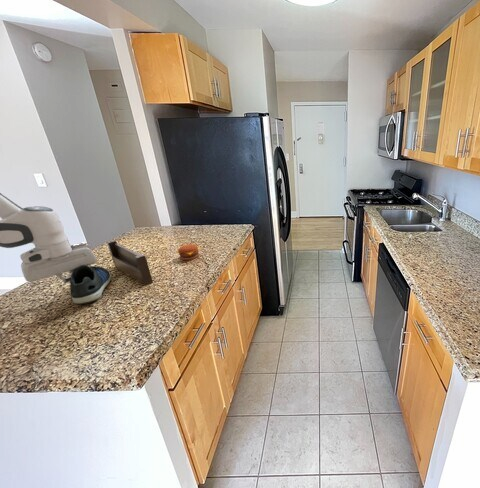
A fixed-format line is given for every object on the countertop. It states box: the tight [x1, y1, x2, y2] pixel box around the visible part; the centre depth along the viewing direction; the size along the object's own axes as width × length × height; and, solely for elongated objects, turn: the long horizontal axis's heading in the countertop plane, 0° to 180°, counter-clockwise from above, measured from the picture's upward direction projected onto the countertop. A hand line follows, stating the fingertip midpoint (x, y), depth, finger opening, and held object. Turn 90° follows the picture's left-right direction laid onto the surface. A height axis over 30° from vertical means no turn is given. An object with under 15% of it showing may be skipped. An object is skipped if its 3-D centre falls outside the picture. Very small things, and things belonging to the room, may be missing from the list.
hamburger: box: [175, 243, 202, 261], centre depth 136 cm, size 9×10×7 cm
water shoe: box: [69, 265, 112, 305], centre depth 107 cm, size 10×29×12 cm, turn 35°
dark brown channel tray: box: [106, 239, 154, 286], centre depth 118 cm, size 3×32×13 cm, turn 56°
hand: (68, 281), depth 102 cm, fingers closed
